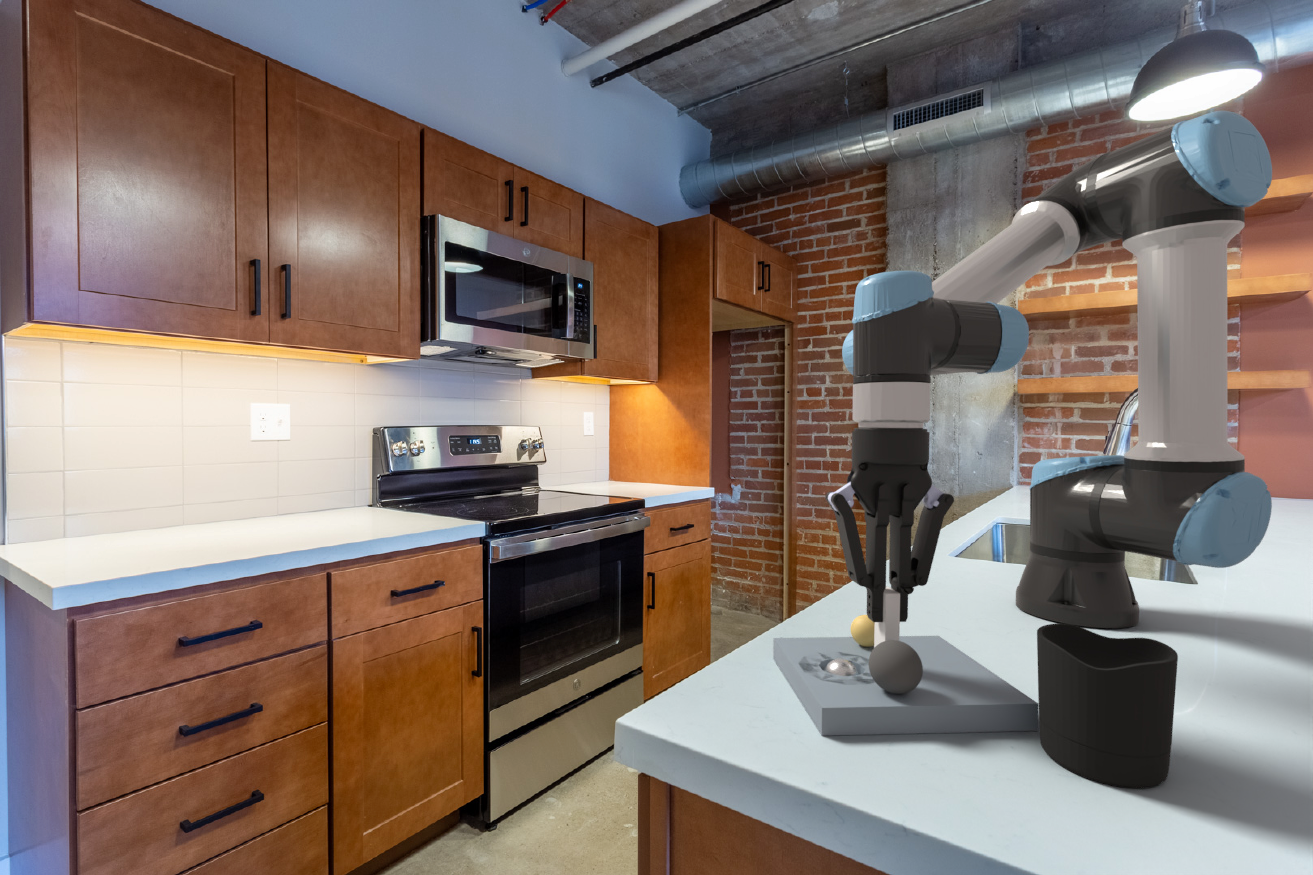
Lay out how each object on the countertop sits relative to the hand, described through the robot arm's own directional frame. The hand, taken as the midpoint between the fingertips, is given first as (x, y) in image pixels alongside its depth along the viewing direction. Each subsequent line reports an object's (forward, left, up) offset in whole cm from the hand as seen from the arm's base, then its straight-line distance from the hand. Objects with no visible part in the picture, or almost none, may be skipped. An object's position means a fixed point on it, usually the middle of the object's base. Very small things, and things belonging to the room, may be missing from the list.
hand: (886, 651), depth 65 cm
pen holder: (-12, +14, -4) cm, 19 cm away
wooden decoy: (0, -6, 0) cm, 6 cm away
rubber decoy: (+2, +6, +1) cm, 6 cm away
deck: (0, 0, -4) cm, 4 cm away
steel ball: (+5, 0, -3) cm, 5 cm away
